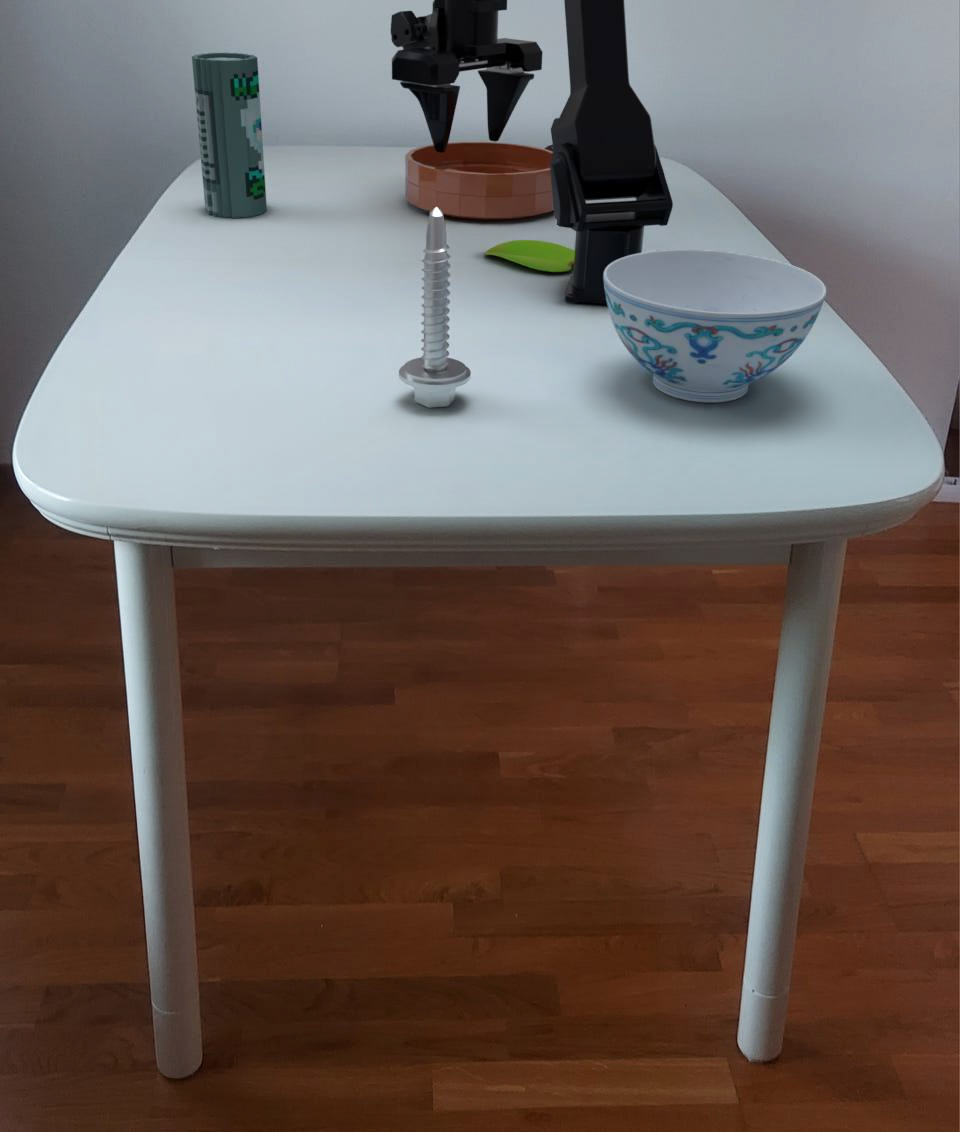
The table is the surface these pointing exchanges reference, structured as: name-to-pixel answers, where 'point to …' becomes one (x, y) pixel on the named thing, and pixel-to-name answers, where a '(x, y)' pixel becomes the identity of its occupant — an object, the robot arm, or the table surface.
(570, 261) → the decorative leaf
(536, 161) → the bowl
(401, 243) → the table surface
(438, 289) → the screw
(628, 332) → the chinaware
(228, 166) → the can
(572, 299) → the robot arm
